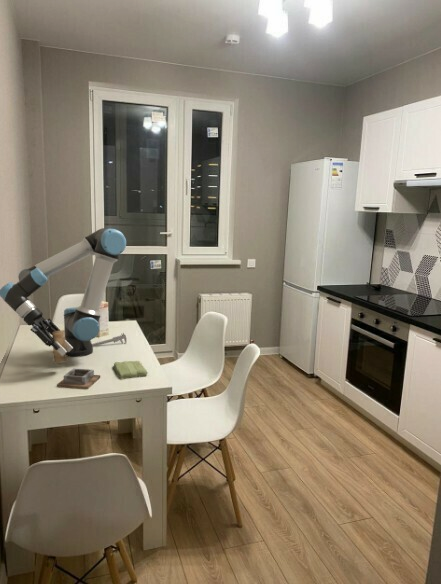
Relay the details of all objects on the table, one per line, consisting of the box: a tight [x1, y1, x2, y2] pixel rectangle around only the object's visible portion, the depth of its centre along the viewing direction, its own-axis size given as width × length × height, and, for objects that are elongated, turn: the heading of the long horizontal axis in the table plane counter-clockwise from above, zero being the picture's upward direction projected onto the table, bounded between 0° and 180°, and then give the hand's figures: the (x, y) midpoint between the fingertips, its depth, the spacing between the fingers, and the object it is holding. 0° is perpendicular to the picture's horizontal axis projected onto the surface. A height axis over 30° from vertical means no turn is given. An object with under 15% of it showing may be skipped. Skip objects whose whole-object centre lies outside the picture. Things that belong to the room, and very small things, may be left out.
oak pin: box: [51, 330, 67, 364], centre depth 187 cm, size 5×5×13 cm
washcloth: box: [112, 360, 148, 379], centre depth 194 cm, size 13×18×3 cm
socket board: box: [56, 368, 101, 390], centre depth 179 cm, size 13×13×4 cm
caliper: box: [92, 332, 128, 348], centre depth 231 cm, size 20×1×6 cm, turn 115°
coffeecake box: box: [96, 300, 110, 338], centre depth 251 cm, size 15×7×20 cm, turn 55°
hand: (67, 351), depth 187 cm, fingers closed on oak pin, 5 cm apart
